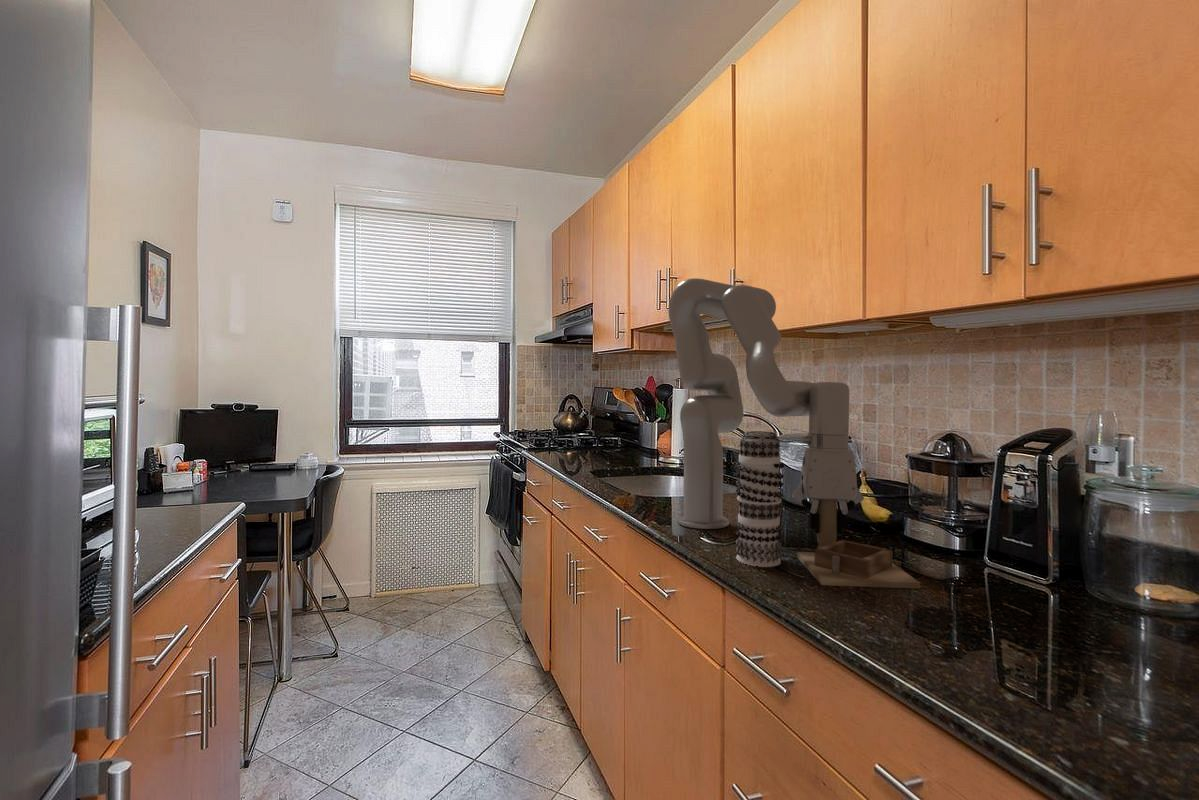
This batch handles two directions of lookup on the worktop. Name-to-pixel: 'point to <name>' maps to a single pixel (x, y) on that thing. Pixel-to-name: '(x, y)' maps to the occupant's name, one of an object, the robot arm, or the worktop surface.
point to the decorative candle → (759, 499)
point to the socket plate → (849, 580)
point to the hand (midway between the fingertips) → (826, 531)
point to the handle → (827, 522)
